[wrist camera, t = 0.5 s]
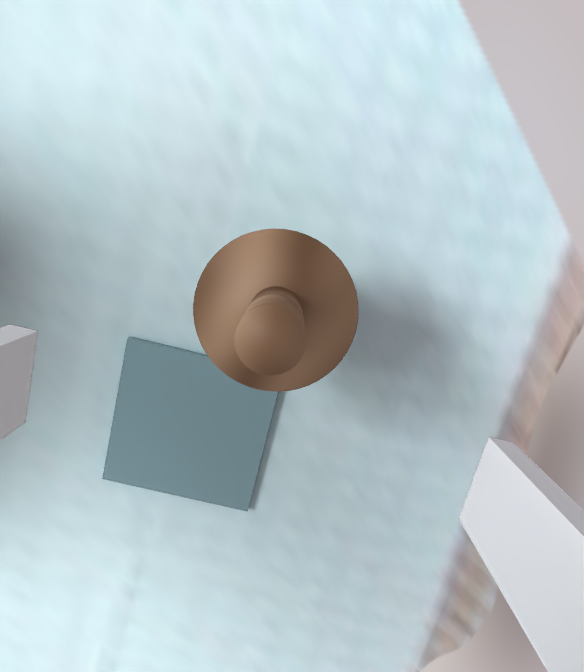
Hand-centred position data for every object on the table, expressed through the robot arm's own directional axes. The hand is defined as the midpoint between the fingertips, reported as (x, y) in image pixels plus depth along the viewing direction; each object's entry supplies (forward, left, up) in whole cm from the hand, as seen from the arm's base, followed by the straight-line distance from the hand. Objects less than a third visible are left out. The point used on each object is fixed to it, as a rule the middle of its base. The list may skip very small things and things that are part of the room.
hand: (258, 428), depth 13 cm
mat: (-5, -14, -28) cm, 32 cm away
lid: (0, 0, -20) cm, 20 cm away
